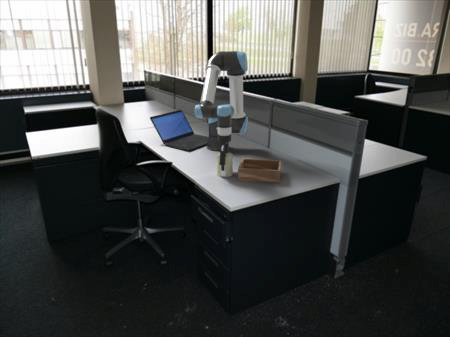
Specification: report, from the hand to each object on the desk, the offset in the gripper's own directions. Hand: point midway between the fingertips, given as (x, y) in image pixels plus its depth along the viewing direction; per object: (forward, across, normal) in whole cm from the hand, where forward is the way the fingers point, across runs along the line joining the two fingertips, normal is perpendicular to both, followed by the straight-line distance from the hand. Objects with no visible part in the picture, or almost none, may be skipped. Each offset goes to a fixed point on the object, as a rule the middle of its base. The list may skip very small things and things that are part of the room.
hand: (224, 172), depth 198 cm
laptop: (+2, -57, -40) cm, 70 cm away
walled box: (+1, 0, +20) cm, 20 cm away
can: (+1, 0, 0) cm, 1 cm away
